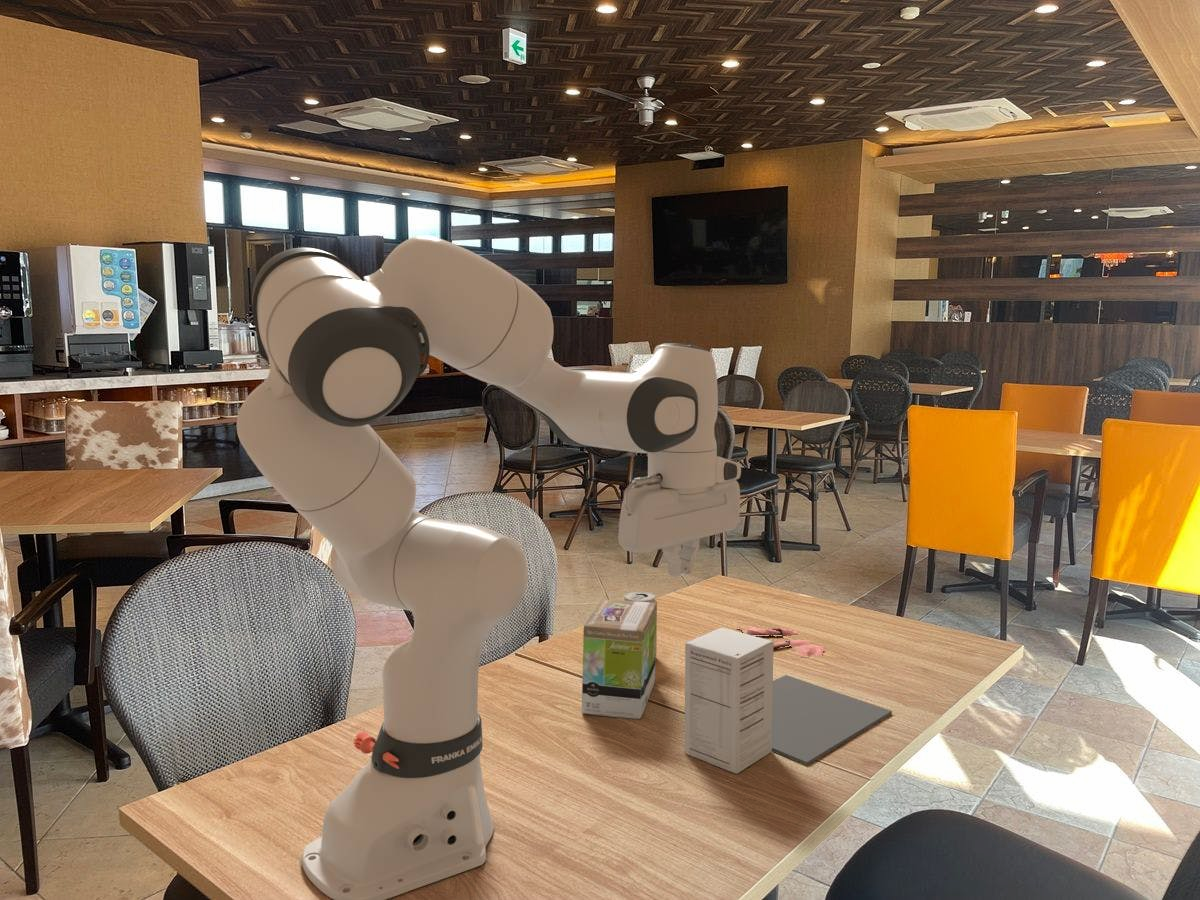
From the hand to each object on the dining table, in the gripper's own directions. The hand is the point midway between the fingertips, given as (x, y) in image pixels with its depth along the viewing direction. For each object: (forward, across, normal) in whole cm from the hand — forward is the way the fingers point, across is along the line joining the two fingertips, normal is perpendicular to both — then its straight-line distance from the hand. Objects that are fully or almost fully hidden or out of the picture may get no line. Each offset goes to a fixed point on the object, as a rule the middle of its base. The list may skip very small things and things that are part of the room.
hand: (680, 573), depth 117 cm
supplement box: (+29, +11, 0) cm, 31 cm away
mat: (+29, +28, 0) cm, 40 cm away
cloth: (+30, +53, +23) cm, 65 cm away
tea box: (+29, +13, +24) cm, 40 cm away
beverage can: (+29, +28, +34) cm, 53 cm away
